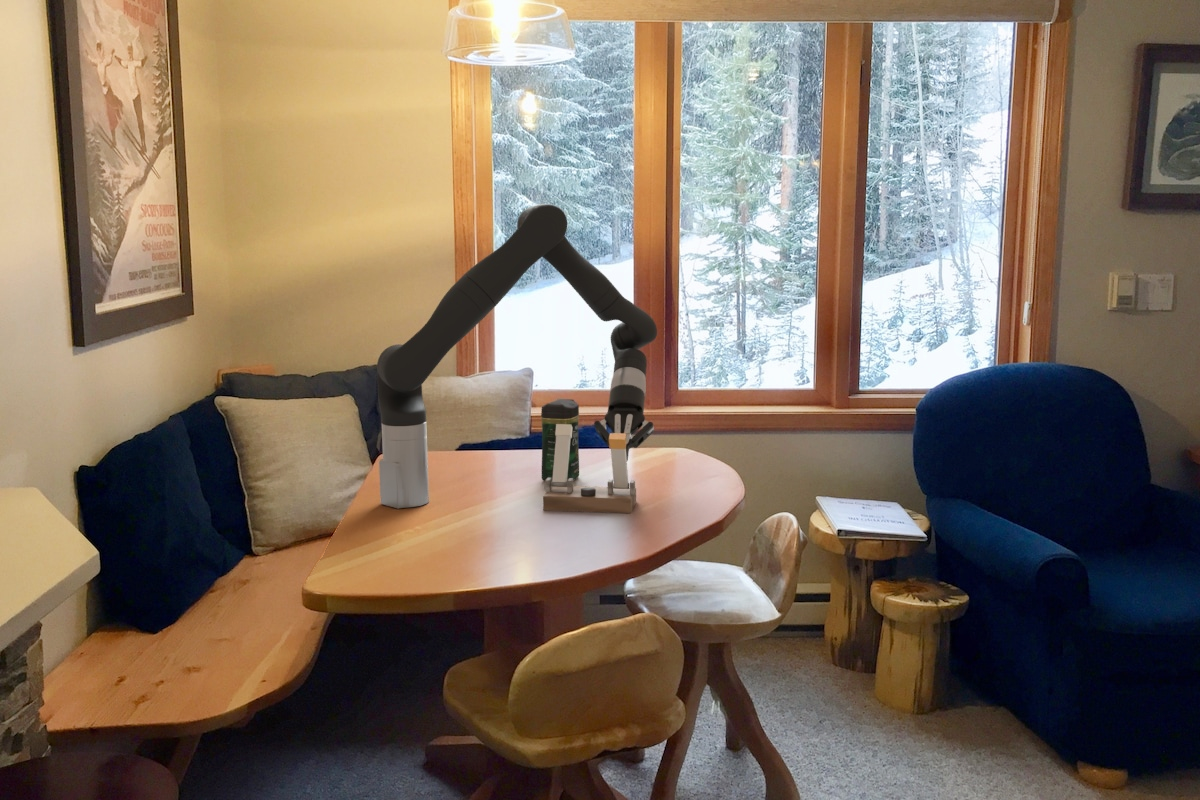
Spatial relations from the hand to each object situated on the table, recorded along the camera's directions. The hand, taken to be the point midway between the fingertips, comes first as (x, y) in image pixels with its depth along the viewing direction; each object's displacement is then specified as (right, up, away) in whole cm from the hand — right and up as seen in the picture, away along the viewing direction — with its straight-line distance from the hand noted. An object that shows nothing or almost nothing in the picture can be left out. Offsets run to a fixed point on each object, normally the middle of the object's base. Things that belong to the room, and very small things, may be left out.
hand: (620, 462), depth 213 cm
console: (-6, -9, +4) cm, 12 cm away
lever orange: (0, -5, +2) cm, 5 cm away
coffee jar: (-13, -6, +27) cm, 31 cm away
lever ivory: (-13, -5, +4) cm, 14 cm away
